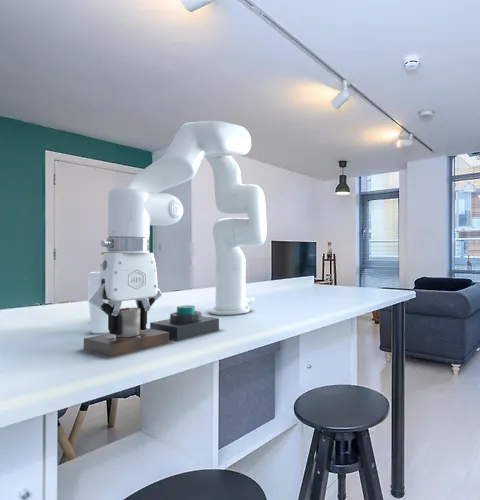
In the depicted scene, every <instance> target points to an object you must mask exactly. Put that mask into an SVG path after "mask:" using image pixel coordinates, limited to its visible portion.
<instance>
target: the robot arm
mask: <svg viewBox="0 0 480 500" xmlns="http://www.w3.org/2000/svg"><path fill="white" fill-rule="evenodd" d="M251 148H252V138H251V135H250V133H249V131H248V130H247V129H246V128H245V127H243V126H241V125H239V124H234V123H231V122H225V121H220V120H205V121H191V122H187V123H184V124H183V125H181V126H180V128H179V129H178V130H177V132H176V133H175V135H174V137H173V139H172V141H171V142H170V144H169V146H168V147H167V148H166V150H165V152H164V154H163V155H162V157H160V158H159V159H157V160H155V161H154V162H151V164H149V165H148V166H146V167H145V168H143V169H142V170H140V171H139V172H137V173H136V174H135V175H134V176H133V177H132V178H131V179H130V180H129V181H128V182H127V184H126V185H125V186H123V187H122V186H119V187H113V188H111V189H110V190H109V191H108V197H107V199H108V201H107V237H106V239H104V240H101V242H100V246H101V247H102V248H106V250H107V252H108V253H105V254H103V258H102V261H101V264H102V265H101V264H100V270H99V272H100V279H99V289H98V290H97V292H96V293H95V294H94V295H93V297H92V298H91V299H90V303H91V304H93V305H95V306H97V307H99V308H100V309H101V310H102V311H104V312H105V314H106V315H108V330H109V333H110V334H114V335H120V334H121V333H122V316H121V315H119V311H120V309H121V306H122V302H126V301H135V304H136V308H140V330H145V329H146V328H147V324H148V312H149V311H150V310H151V307H152V306H153V305H154V303H155V302H156V301H157V300H158V299H160V297H162V295H163V294H162V292H161V290H160V288H158V283H159V282H158V271H157V265H156V259H155V255H154V253H153V252H150V229H151V228H150V227H151V226H171V225H174V224H176V223H178V222H179V221H180V220H181V219H182V217H183V215H184V205H183V204H182V202H181V200H180V199H179V198H178V197H177V196H175V195H173V194H171V193H165V192H163V191H165V190H168V189H171V188H173V187H176V186H179V185H182V184H183V183H186V182H188V181H190V180H192V179H193V178H194V177H195V176H196V174H197V172H198V171H199V168H200V166H201V164H202V162H203V160H204V159H206V160H207V162H208V164H209V165H210V168H211V170H212V176H213V184H214V198H215V205H216V208H217V211H219V212H220V213H221V214H230V215H231V214H232V215H237V214H238V215H240V214H242V215H243V214H247V217H224V218H220V219H218V220H217V221H216V222H215V223H214V224H213V227H212V236H213V241H214V249H215V301H214V303H215V305H214V306H215V307H212V308H211V309H210V312H209V313H210V314H211V315H219V316H232V315H233V316H234V315H241V314H246V313H249V312H250V311H251V308H250V306H249V304H254V303H255V302H256V299H255V297H249V298H248V297H247V296H246V279H247V278H246V276H247V275H246V268H247V260H246V257H245V254H244V252H243V251H242V249H241V248H240V247H260V246H262V245H264V244H265V243H266V240H267V235H268V226H267V209H266V207H267V206H266V197H265V193H264V191H263V189H262V188H261V187H260V186H259V185H257V184H253V183H252V184H251V183H246V184H245V183H244V184H243V183H242V175H241V174H242V173H241V169H240V167H239V164H238V163H237V161H236V160H235V159H234V158H233V156H245V155H246V154H248V153H249V152H250V150H251ZM102 299H103V300H108V303H105V302H104V301H103V300H102Z"/></svg>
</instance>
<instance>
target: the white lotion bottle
mask: <svg viewBox="0 0 480 500" xmlns="http://www.w3.org/2000/svg"><path fill="white" fill-rule="evenodd" d="M99 279H100V271H90V272H89V271H88V272H87V280H86V281H87V283H86V285H87V298H88V299H87V300H88V308H89V309H88V311H89V320H90V332H91V333H92V334H96V335H97V334H99V335H102V334H109V333H110V332H109V330H108V315H106V314H105V312H104V311H102V310H101V309H100V308H99V307H97V306H95V305H93V304H91V303H90V299H91V298H92V297H93V295H94V294H95V293H96V292H97V290H98V289H99ZM102 300H103V299H102ZM103 301H104V302H105V303H108V300H103Z"/></svg>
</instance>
